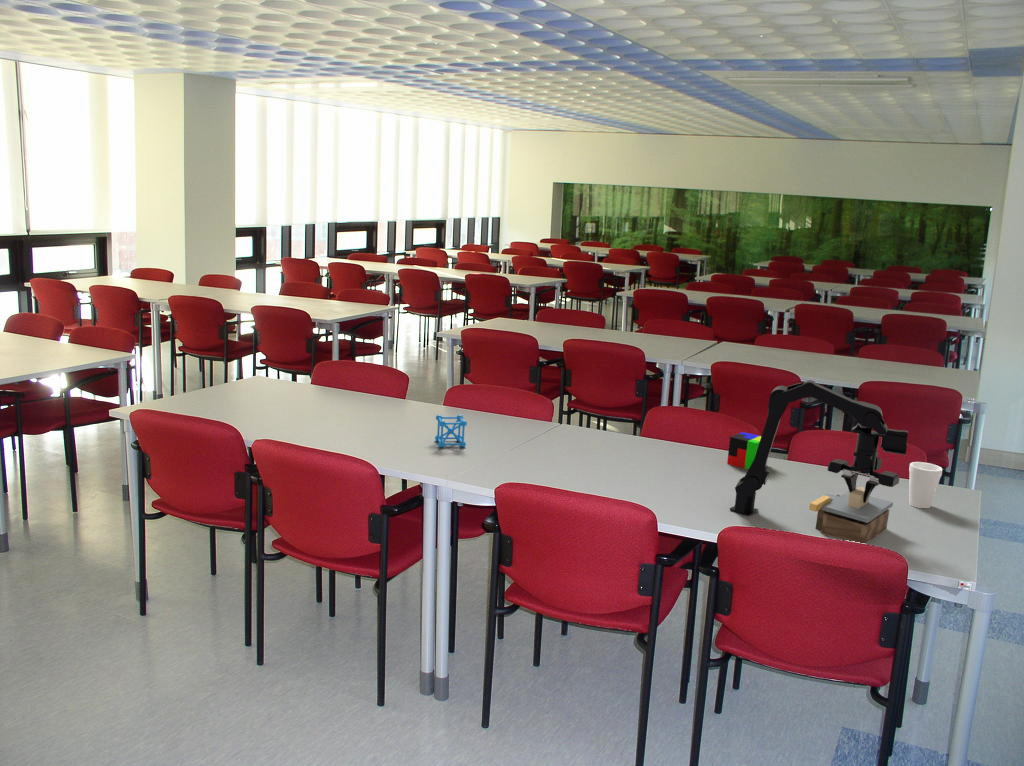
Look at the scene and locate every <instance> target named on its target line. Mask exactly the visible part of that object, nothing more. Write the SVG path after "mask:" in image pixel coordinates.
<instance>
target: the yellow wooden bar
mask: <svg viewBox="0 0 1024 766" xmlns="http://www.w3.org/2000/svg"><path fill="white" fill-rule="evenodd" d="M825 495H826V494H824V495H822V496H820V497H818V498H817V499H814V500H813V501H811V502H810V503H809V509H808V510H809V511H813V512H818V510H820V509H821V508H822V507H823V505H825V504H827V503H829V502H830V499H831V497H829V496H825Z"/></svg>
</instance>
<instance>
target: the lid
mask: <svg viewBox="0 0 1024 766" xmlns="http://www.w3.org/2000/svg"><path fill="white" fill-rule="evenodd" d="M864 492H865V487H862V486H859V487H856V489H855V490H854V491H852V492H849V490H848V491H846V492H844V493H843V494H840V495H841V496H836V495H834V494H831V493H826V494H824V495H825V496H829V497H831V499H830V502H829V503H827V504H825V505H823V507H822V510H824V511H827V512H831V513H835V514H838V515H842V516H845V517H849V518H852V519H856V520H859V521H863V522H866V523H868V522H870V521H871V520H873V519H874V518H876V517H877V516H879V515H880V514H882V513H883V512H885V511H886V510H890V509H891V508H892V507H893V505H894V502H893V501H889V500H885V499H882V498H878V497H874V496H871V495H870V496H869V497H868V499H867V501H866V502H865V503H864V502H863V498H864Z"/></svg>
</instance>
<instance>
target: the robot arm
mask: <svg viewBox="0 0 1024 766" xmlns="http://www.w3.org/2000/svg"><path fill="white" fill-rule="evenodd" d="M807 397H811V398H813V399H815V400H817V401H820V402H822V403H824V404H827V405H828V406H831V407H832V408H834V409H836V410H840V411H841V412H843V413H846V414H848V415H849V416H850V417H851V418H852V419H853V420H855V421H857V422H858V423H857V424H856V425H855V426H853V427H852V428H851V433H853V434H857V438H856V443H855V444H856V445H855V451H854V452H853V457H854V458H853V465H849V461H847V460H844V459H840V458H835V459H834V460H832V461H831V460H830V461H829V462H828V464H827V471H828V472H829V473H834V474H839V473H840V472H841V471H842V474H841V478H843V479H844V481H845V483H846V485H847V488H848V491H849V492H852V491H854V490H855V489H857V480H858V478H859V477H858V476H859V475H860V476H862V477H867V478H869V480H868V481H866V482H865V486H864V488H865V492H864V498H863V502H864V503H865V502H866V501H867V499H868V497H869V496H871V493H872V492H873V491H874V489H875V487H877V486H879V485H881V486H886V487H889V488H893V487H895V486H896V485H899V482H900V475H899V474H898V473H896V472H893V471H888V470H885V471H883V472H877V471H880V470H881V467H882V463H883V459H882V458H880V457H879V452H878V449H879V447H880V449H882V450H883V453H888V454H896V455H902V456H906V454H907V448H908V435H909V431H908V430H903V429H901V430H900V429H892V428H889V427H888V426H887V424H886V422H885V420H884V419H883V411H882V408H881V407H880V406H878V405H876V404H874V403H869V402H867V401H861V400H856V399H852V398H850V397H848V396H846V395H843V394H841V393H839V392H837V391H834V390H832V389H830V388H828V387H826V386H824V385H821V384H819V383H817V382H816V381H814V380H812V379H807V380H806V381H803V382H799V383H795V384H791V385H788V386H786V385H778V386H776V387H774V389H773V390H772V391H771V393H770V395H769V397H768V406H767V417H766V421H765V424H764V427H763V430H762V433H761V435H760V436H761V439H760V442H759V446H758V449H757V452H756V455H755V458H754V460H753V462H752V464H751V466H750V468H749V469H747V471H746V474H745V475H744V476H743V477H741V478H739V480H738V481H737V483H736V485H735V487H734V490H735V500H734V506H732V507H730V508H729V511H733V512H735V513H739V514H743V515H745V516H748V517H749V516H751V515H753V514H755V513H757V512H758V511H759V508H756V507H755V502H756V496H757V495H756V494H757V492H756V491H760V490H761V489H762V487H763V485H764V486H765V485H766V484H767V482H768V480H769V474H770V471H771V469H772V466H768V459H769V455H770V453H771V451H772V447H773V443H774V440H775V437H776V435H777V431H778V429H779V426H780V421H781V419H782V417H783V415H784V414H785V412H786V409H787V408H788V406H789V404H791V403H793V402H796V401H799V400H802V399H803V398H807ZM880 437H881V442H880ZM879 443H880V446H879Z"/></svg>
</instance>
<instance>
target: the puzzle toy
mask: <svg viewBox="0 0 1024 766" xmlns="http://www.w3.org/2000/svg"><path fill="white" fill-rule="evenodd" d="M761 436H762V435H757V434H754V433H749V432H744V431H742V432H738V433H736V434H734V435H731V436H729V443H728V452H727V453H728V455H727V460H726V461H727V462H726V463H727V465H730V466H733V467H739V468H742V469H746V470H749V468H750V466H751V464H752V462H753V460H754V458H755V455H756V452H757V449H758V446H759V442H760V439H761Z"/></svg>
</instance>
